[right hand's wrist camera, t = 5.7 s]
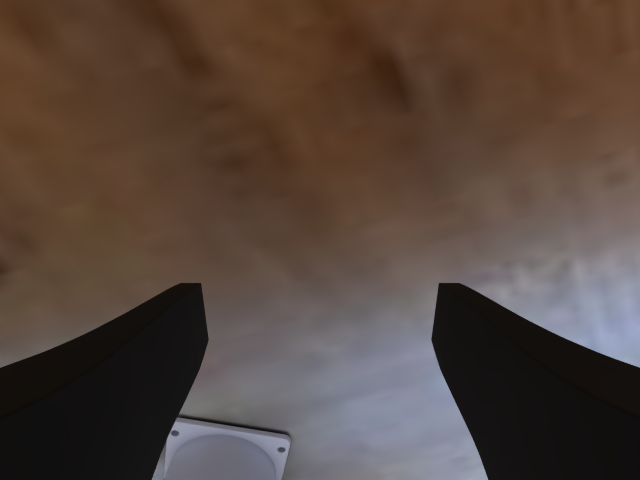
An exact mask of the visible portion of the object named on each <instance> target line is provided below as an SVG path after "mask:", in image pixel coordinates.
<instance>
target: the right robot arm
mask: <svg viewBox="0 0 640 480" xmlns="http://www.w3.org/2000/svg"><path fill="white" fill-rule="evenodd" d="M208 340H209V339H208V332H207V324H206V317H205V309H204V302H203V294H202V287H201V283H180V284H178V285H175V286H173V287H171V288H169V289H168V290H166V291H164V292H162V293H160V294H158V295H157V296H155V297H153V298H151V299H150V300H148V301H146V302H144V303H143V304H141V305H139V306H137V307H136V308H134V309H132V310H130V311H129V312H127V313H125V314H123V315H121V316H119V317H117V318H115V319H113V320H112V321H110V322H108V323H106V324H104V325H102V326H100V327H98V328H96V329H94V330H92V331H90V332H88V333H86V334H84V335H82V336H80V337H78V338H75V339H73V340H71V341H69V342H66V343H64V344H62V345H59V346H57V347H55V348H52V349H50V350H47V351H45V352H42V353H40V354H37V355H34V356H32V357H29V358H26V359H23V360H21V361H18V362H15V363H12V364H10V365H7V366H4V367H1V368H0V480H152V477H153V474H154V471H155V469H156V466H157V463H158V460H159V457H160V455H161V452H162V450H163V447H164V445H165V443H166V440H167V444H166V455H165V467H164V478H163V480H281V479H282V476H283V472H284V468H285V464H286V460H287V456H288V452H289V448H290V443H291V439H290V437H289V436H288V435H285V434H279V433H273V432H266V431H260V430H254V429H247V428H241V427H235V426H229V425H222V424H216V423H210V422H203V421H197V420H191V419H184V418H177V417H178V415H179V412H180V410H181V408H182V406H183V404H184V402H185V400H186V398H187V395H188V393H189V391H190V389H191V387H192V385H193V383H194V380H195V378H196V376H197V374H198V372H199V369H200V366H201V363H202V360H203V357H204V354H205V350H206V347H207V343H208ZM431 340H432V343H433V347H434V350H435V354H436V357H437V360H438V363H439V366H440V369H441V372H442V374H443V376H444V378H445V380H446V383H447V385H448V387H449V389H450V391H451V393H452V395H453V398H454V400H455V402H456V404H457V406H458V408H459V410H460V412H461V415H462V417H463V419H464V421H465V423H466V425H467V427H468V429H469V431H470V434H471V436H472V438H473V440H474V443H475V445H476V447H477V450H478V452H479V455H480V457H481V460H482V463H483V466H484V469H485V471H486V474H487V477H488V480H640V368H639V367H636V366H633V365H630V364H628V363H625V362H622V361H619V360H616V359H613V358H611V357H608V356H606V355H603V354H600V353H598V352H595V351H593V350H591V349H588V348H586V347H584V346H581V345H579V344H577V343H574V342H572V341H569V340H567V339H565V338H563V337H561V336H558V335H556V334H554V333H552V332H550V331H548V330H546V329H544V328H542V327H540V326H538V325H536V324H534V323H532V322H530V321H528V320H526V319H525V318H523V317H521V316H519V315H517V314H515V313H514V312H512V311H510V310H508V309H506V308H505V307H503V306H501V305H499V304H498V303H496V302H494V301H492V300H491V299H489V298H487V297H485V296H484V295H482V294H480V293H478V292H476V291H475V290H473V289H471V288H469V287H467V286H465V285H463V284H460V283H439V287H438V294H437V302H436V309H435V317H434V324H433V332H432V339H431ZM175 430H176V431H175Z"/></svg>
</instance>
